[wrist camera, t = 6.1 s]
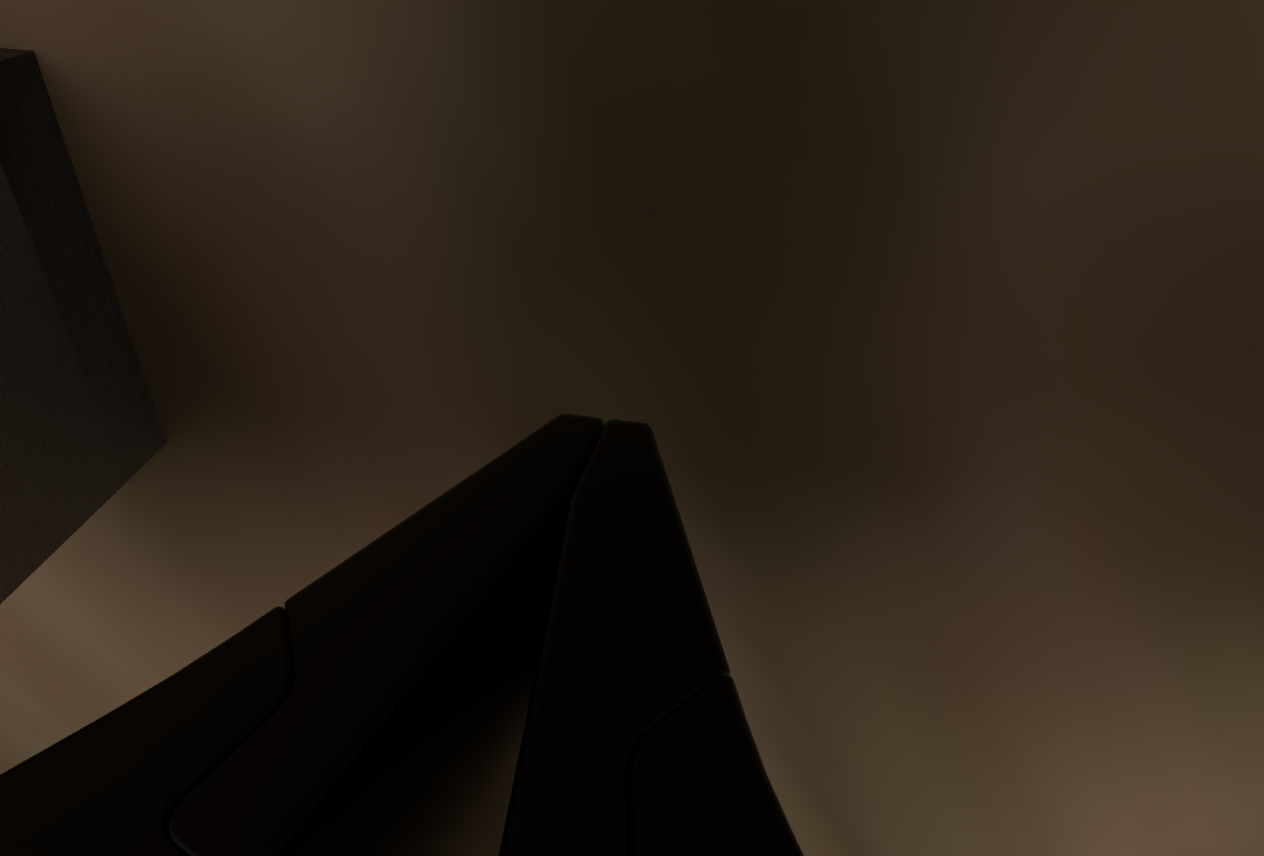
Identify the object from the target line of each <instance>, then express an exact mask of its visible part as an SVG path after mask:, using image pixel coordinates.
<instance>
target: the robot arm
mask: <svg viewBox="0 0 1264 856" xmlns="http://www.w3.org/2000/svg"><path fill="white" fill-rule="evenodd" d="M0 856H804V855H803V853H802V851H801V849H800V847H799V845H798V843H797V840H796V838H795V836H794V834H793V831H792V829H791V827H790V825H789V823H788V820H787V818H786V816H785V814H784V811H783V809H782V807H781V805H780V803H779V800H778V798H777V796H776V794H775V792H774V789H773V787H772V785H771V783H770V780H769V778H768V776H767V773H766V771H765V768H764V765H763V763H762V760H761V757H760V755H759V752H758V749H757V746H756V744H755V741H754V738H753V736H752V733H751V730H750V727H749V725H748V722H747V719H746V717H745V714H744V710H743V707H742V704H741V701H740V698H739V695H738V692H737V689H736V686H735V683H734V680H733V678H732V677H730V669H729V666H728V663H727V660H726V657H725V654H724V650H723V647H722V644H721V641H720V638H719V635H718V632H717V629H716V626H715V623H714V619H713V616H712V613H711V610H710V607H709V604H708V601H707V598H706V595H705V592H704V589H703V585H702V582H701V579H700V576H699V573H698V570H697V567H696V564H695V561H694V558H693V555H692V551H691V548H690V545H689V542H688V539H687V536H686V533H685V530H684V527H683V524H682V521H681V517H680V514H679V511H678V508H677V505H676V502H675V499H674V496H673V493H672V490H671V487H670V483H669V480H668V477H667V474H666V471H665V468H664V465H663V462H662V459H661V456H660V452H659V449H658V446H657V443H656V440H655V437H654V434H653V431H652V429H651V427H650V426H649V425H648V424H646V423H640V422H631V421H622V420H609V421H607V422H606V423H605V424H604V422H603V420H602V419H600V418H596V417H588V416H580V415H572V414H561V415H559V416H557V417H556V418H554V419H553V420H551V421H550V422H548V423H547V424H545V425H544V426H542V427H541V428H539V429H538V430H536V431H535V432H533V433H532V434H531V435H529V436H528V437H526V438H525V439H523V440H522V441H520V442H519V443H517V444H516V445H514V446H513V447H511V448H510V449H508V450H507V451H505V452H504V453H503V454H501V455H500V456H498V457H497V458H495V459H494V460H492V461H491V462H489V463H488V464H486V465H485V466H483V467H482V468H480V469H479V470H478V471H476V472H475V473H473V474H472V475H470V476H469V477H467V478H466V479H464V480H463V481H461V482H460V483H458V484H457V485H455V486H454V487H453V488H451V489H450V490H448V491H447V492H445V493H444V494H442V495H441V496H439V497H438V498H436V499H435V500H433V501H432V502H430V503H429V504H427V505H426V506H425V507H423V508H422V509H420V510H419V511H417V512H416V513H414V514H413V515H411V516H410V517H408V518H407V519H405V520H404V521H402V522H401V523H400V524H398V525H397V526H395V527H394V528H392V529H391V530H389V531H388V532H386V533H385V534H383V535H382V536H380V537H379V538H377V539H376V540H375V541H373V542H372V543H370V544H369V545H367V546H366V547H364V548H363V549H361V550H360V551H358V552H357V553H355V554H354V555H352V556H351V557H349V558H348V559H347V560H345V561H344V562H342V563H341V564H339V565H338V566H336V567H335V568H333V569H332V570H330V571H329V572H327V573H326V574H324V575H323V576H322V577H320V578H319V579H317V580H316V581H314V582H313V583H311V584H310V585H308V586H307V587H305V588H304V589H302V590H301V591H299V592H298V593H297V594H295V595H294V596H292V597H291V598H289V599H288V600H287V601H286V602H285V610H284V608H282V607H275V608H274V609H272V610H271V611H269V612H268V613H266V614H265V615H264V616H262V617H261V618H259V619H258V620H256V621H255V622H253V623H252V624H250V625H249V626H247V627H246V628H244V629H243V630H241V631H240V632H239V633H237V634H235V635H234V636H232V637H231V638H229V639H228V640H226V641H225V642H223V643H222V644H220V645H218V646H217V647H215V648H214V649H212V650H211V651H209V652H208V653H206V654H205V655H203V656H201V657H200V658H198V659H197V660H195V661H194V662H192V663H191V664H189V665H188V666H186V667H184V668H183V669H181V670H180V671H178V672H177V673H175V674H173V675H172V676H170V677H168V678H167V679H165V680H163V681H162V682H160V683H158V684H157V685H155V686H153V687H152V688H150V689H148V690H146V691H145V692H143V693H141V694H140V695H138V696H136V697H135V698H133V699H131V700H130V701H128V702H126V703H125V704H123V705H121V706H119V707H118V708H116V709H114V710H113V711H111V712H109V713H108V714H106V715H104V716H103V717H101V718H99V719H97V720H96V721H94V722H92V723H90V724H89V725H87V726H85V727H83V728H82V729H80V730H78V731H76V732H75V733H73V734H71V735H69V736H67V737H66V738H64V739H62V740H60V741H59V742H57V743H55V744H53V745H52V746H50V747H48V748H46V749H45V750H43V751H41V752H39V753H38V754H36V755H34V756H32V757H31V758H29V759H27V760H25V761H23V762H22V763H20V764H18V765H16V766H15V767H13V768H11V769H9V770H8V771H6V772H4V773H2V774H1V775H0Z"/></svg>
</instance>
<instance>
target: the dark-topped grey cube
mask: <svg viewBox="0 0 1264 856" xmlns="http://www.w3.org/2000/svg"><path fill="white" fill-rule="evenodd" d="M165 444H166V441H165V438H164V435H163V432H162V429H161V426H160V423H159V420H158V417H157V414H156V412H155V409H154V406H153V403H152V400H151V397H150V394H149V391H148V388H147V385H146V382H145V379H144V376H143V373H142V370H141V367H140V364H139V361H138V358H137V355H136V352H135V349H134V347H133V344H132V341H131V338H130V335H129V332H128V329H127V326H126V323H125V320H124V317H123V314H122V311H121V308H120V305H119V302H118V299H117V296H116V293H115V290H114V287H113V284H112V282H111V279H110V276H109V273H108V270H107V267H106V264H105V261H104V258H103V255H102V252H101V249H100V246H99V243H98V240H97V237H96V234H95V231H94V228H93V225H92V222H91V219H90V217H89V214H88V211H87V208H86V205H85V202H84V199H83V196H82V193H81V190H80V187H79V184H78V181H77V178H76V175H75V172H74V169H73V166H72V163H71V160H70V157H69V154H68V152H67V149H66V146H65V143H64V140H63V137H62V134H61V131H60V128H59V125H58V122H57V119H56V116H55V113H54V110H53V107H52V104H51V101H50V98H49V95H48V92H47V89H46V87H45V84H44V81H43V78H42V75H41V72H40V69H39V66H38V63H37V60H36V57H35V54H34V51H30V50H17V49H3V48H0V604H1V603H2V602H3V601H4V600H5V599H6V598H7V597H8V596H9V595H10V594H11V593H12V592H13V591H14V590H15V589H17V588H18V587H19V586H20V585H21V584H22V583H23V582H24V581H25V580H26V579H27V578H28V577H29V576H30V575H31V574H32V573H33V572H34V571H35V570H36V569H37V568H38V567H39V566H40V565H41V564H42V563H43V562H44V561H45V560H46V559H48V558H49V557H50V556H51V555H52V554H53V553H54V552H55V551H56V550H57V549H58V548H59V547H60V546H61V545H62V544H63V543H64V542H65V541H66V540H67V539H68V538H69V537H70V536H71V535H72V534H73V533H74V532H75V531H76V530H77V529H79V528H80V527H81V526H82V525H83V524H84V523H85V522H86V521H87V520H88V519H89V518H90V517H91V516H92V515H93V514H94V513H95V512H96V511H97V510H98V509H99V508H100V507H101V506H102V505H103V504H104V503H105V502H106V501H107V500H108V499H110V498H111V497H112V496H113V495H114V494H115V493H116V492H117V491H118V490H119V489H120V488H121V487H122V486H123V485H124V484H125V483H126V482H127V481H128V480H129V479H130V478H131V477H132V476H133V475H134V474H135V473H136V472H137V471H138V470H139V469H141V468H142V467H143V466H144V465H145V464H146V463H147V462H148V461H149V460H150V459H151V458H152V457H153V456H154V455H155V454H156V453H157V452H158V451H159V450H160V449H161V448H162V447H163V446H164V445H165Z"/></svg>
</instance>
